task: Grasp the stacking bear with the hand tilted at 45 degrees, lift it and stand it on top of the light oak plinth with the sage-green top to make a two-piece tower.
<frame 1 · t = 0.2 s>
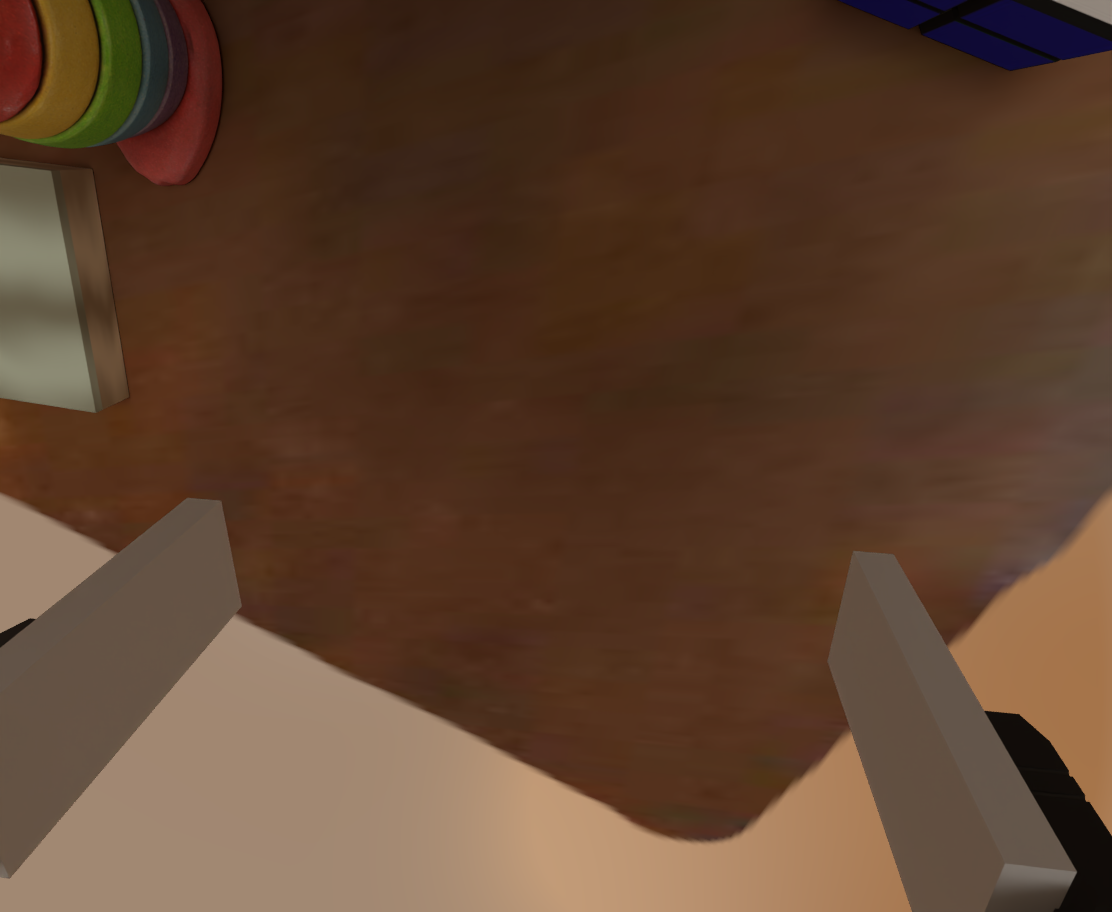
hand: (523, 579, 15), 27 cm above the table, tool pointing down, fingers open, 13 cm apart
plinth: (9, 276, 45), on the table
stacking bear: (144, 57, 39), on the table
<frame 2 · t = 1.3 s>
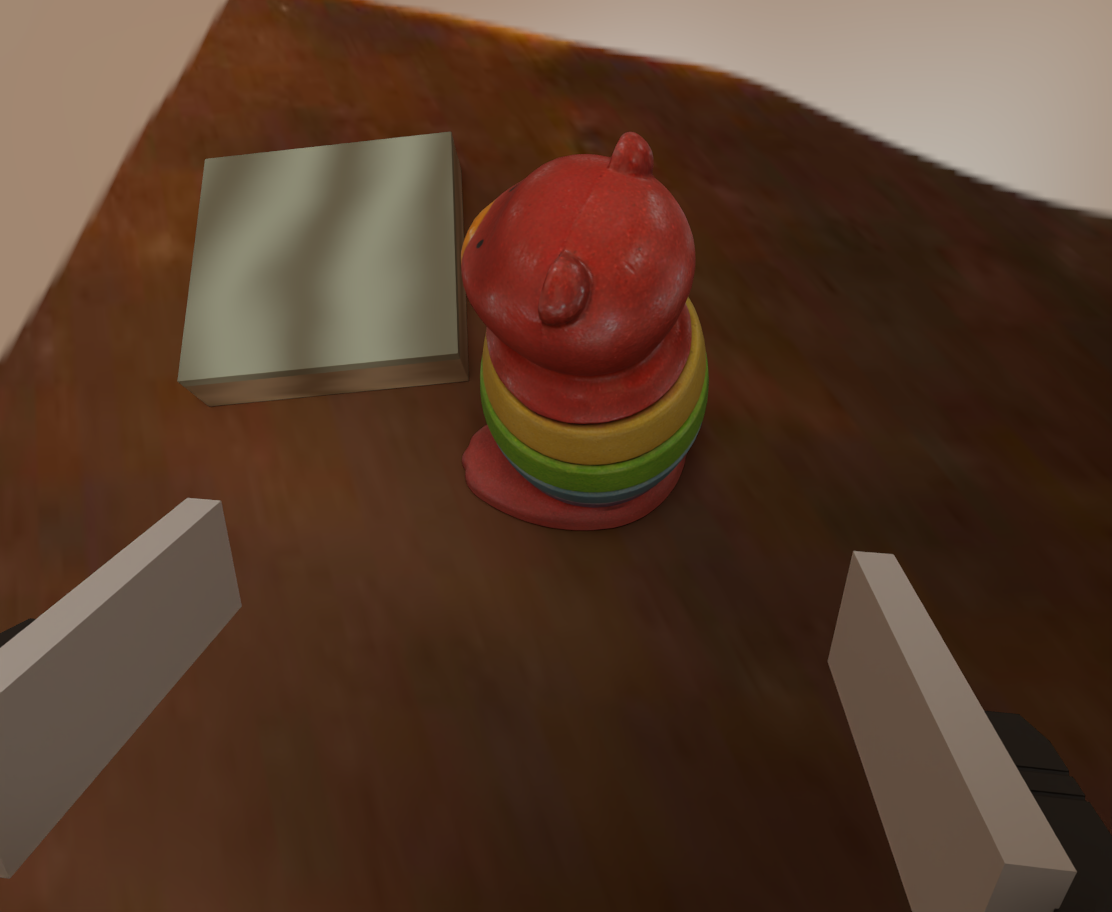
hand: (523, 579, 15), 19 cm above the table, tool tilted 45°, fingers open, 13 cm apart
plinth: (342, 282, 40), on the table
stacking bear: (589, 442, 36), on the table
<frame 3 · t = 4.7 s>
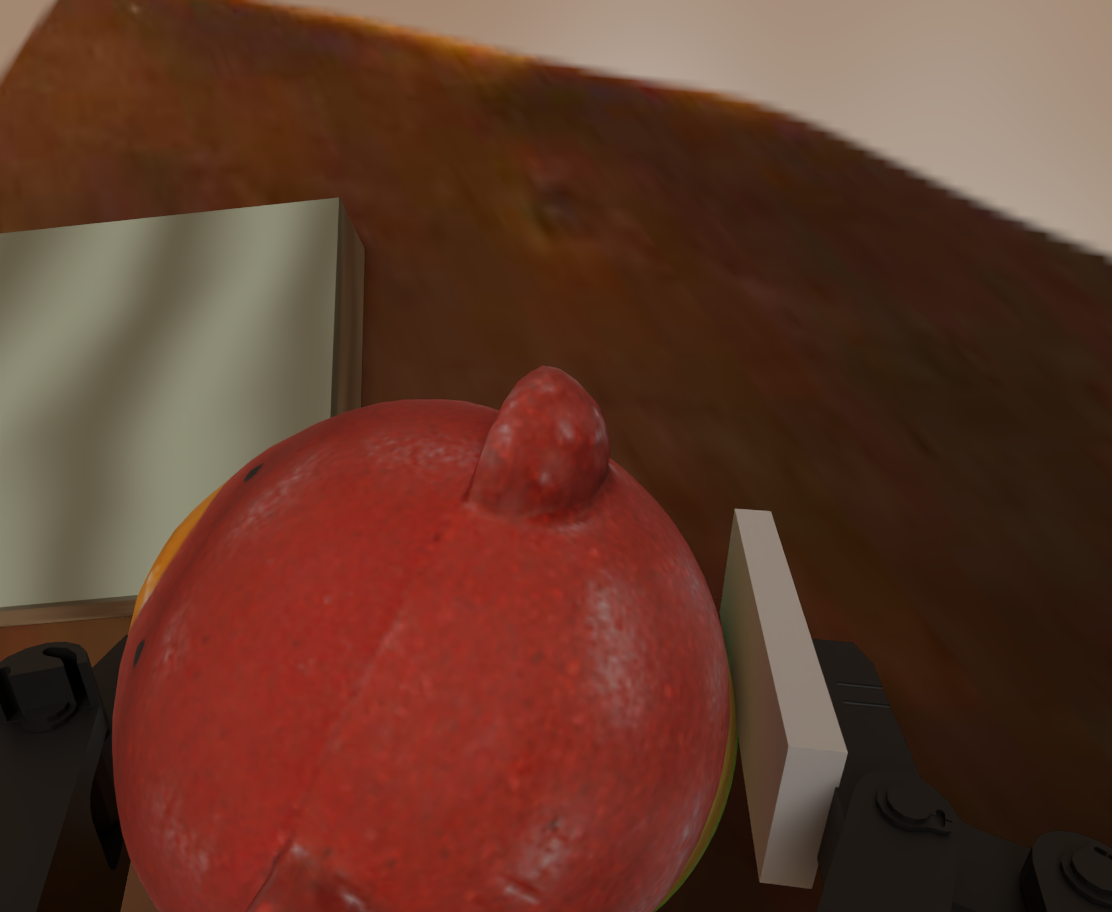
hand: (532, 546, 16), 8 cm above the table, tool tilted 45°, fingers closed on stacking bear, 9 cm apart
plinth: (175, 423, 27), on the table
stacking bear: (535, 705, 23), on the table, touching gripper
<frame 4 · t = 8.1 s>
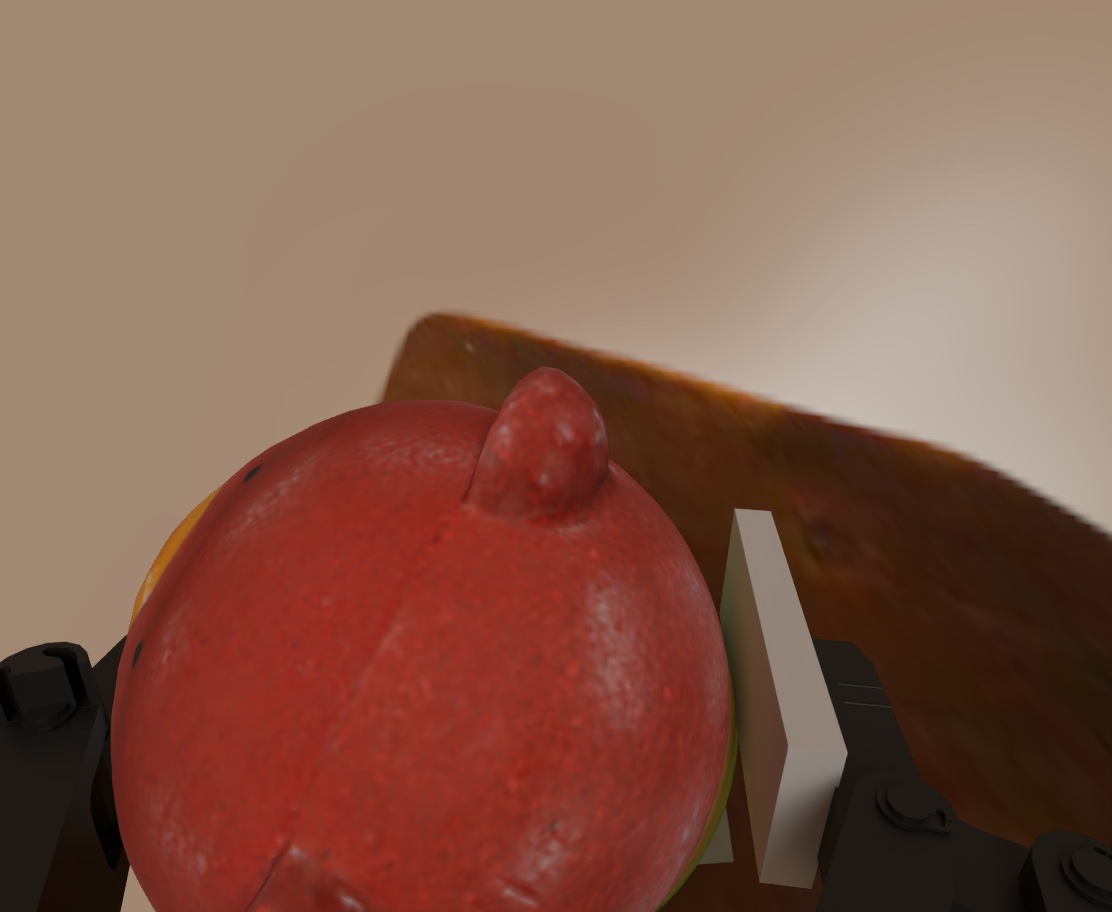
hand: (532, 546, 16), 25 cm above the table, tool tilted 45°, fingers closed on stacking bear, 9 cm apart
plinth: (570, 711, 38), on the table
stacking bear: (535, 706, 23), point 17 cm above the table, touching gripper
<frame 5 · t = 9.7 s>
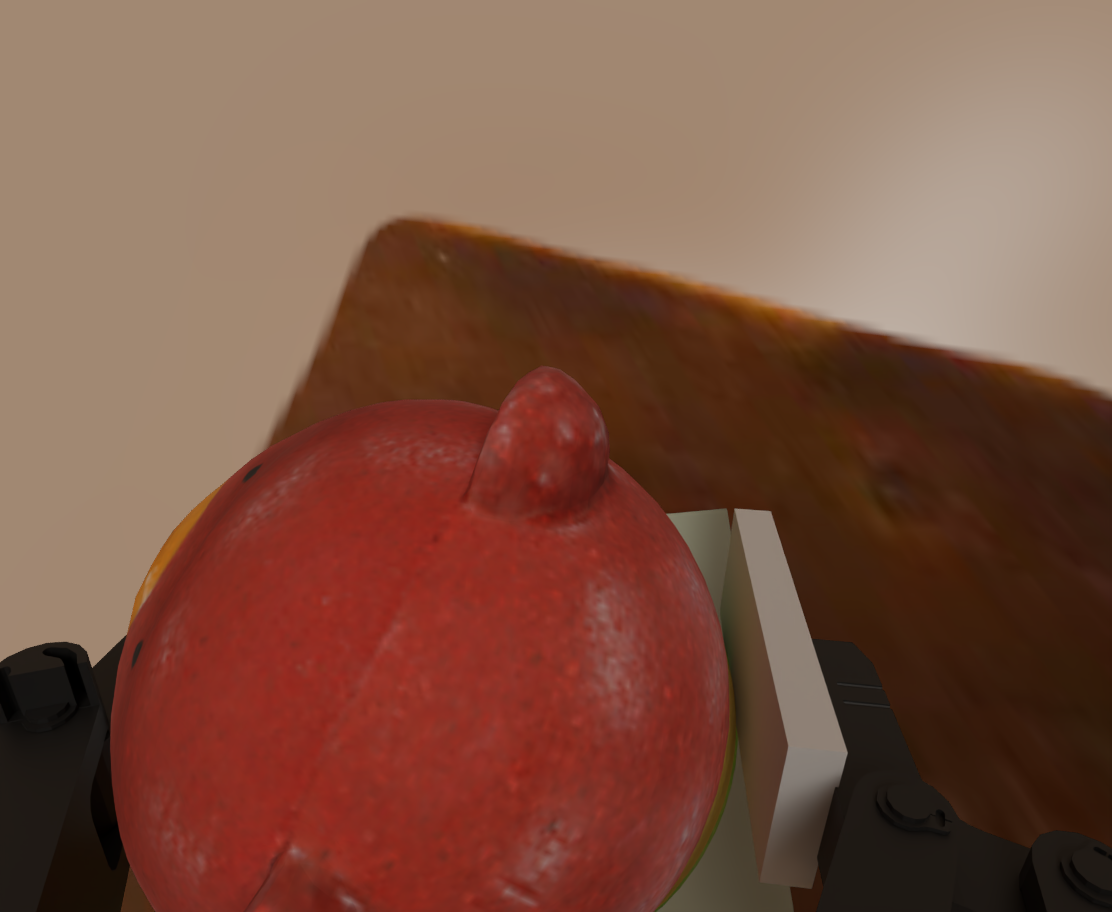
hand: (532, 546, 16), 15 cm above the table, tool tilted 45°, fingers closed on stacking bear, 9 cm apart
plinth: (568, 711, 29), on the table
stacking bear: (535, 706, 23), point 7 cm above the table, touching gripper
when the fingers open (12 cm above the table, at t = 11.2 s): stacking bear drops 1 cm, resting on plinth.
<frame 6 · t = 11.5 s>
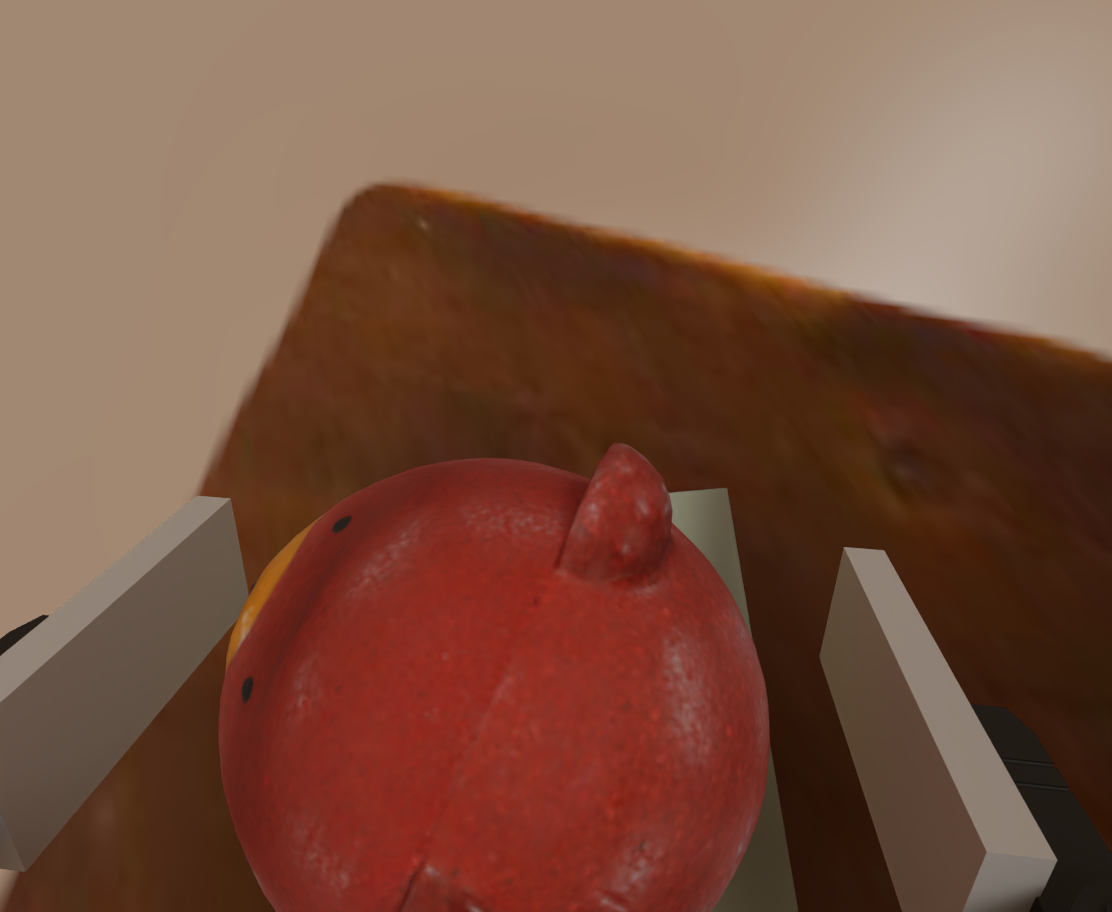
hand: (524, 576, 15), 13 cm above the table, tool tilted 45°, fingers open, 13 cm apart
plinth: (554, 709, 27), on the table
stacking bear: (544, 709, 24), point 3 cm above the table, touching plinth
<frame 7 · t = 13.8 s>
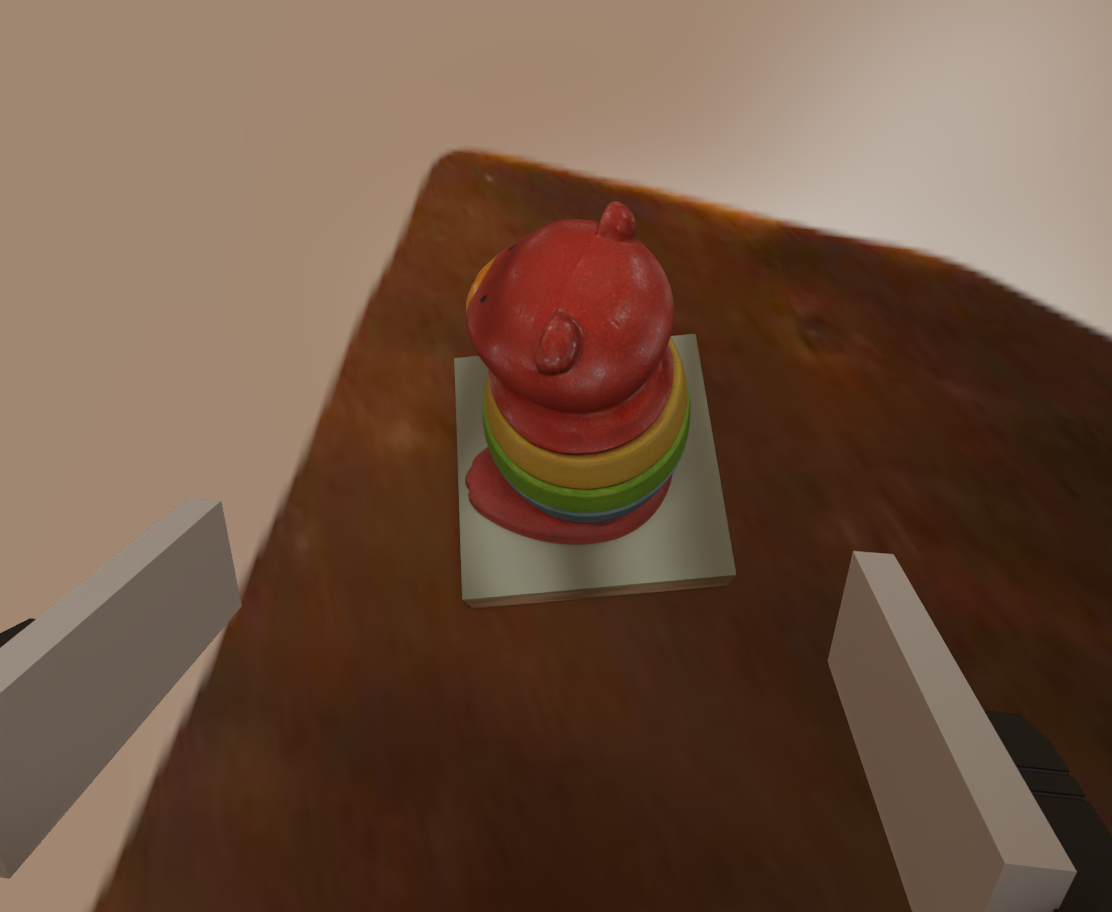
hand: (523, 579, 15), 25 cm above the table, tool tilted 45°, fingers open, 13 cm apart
plinth: (586, 476, 42), on the table
stacking bear: (583, 461, 39), point 3 cm above the table, touching plinth
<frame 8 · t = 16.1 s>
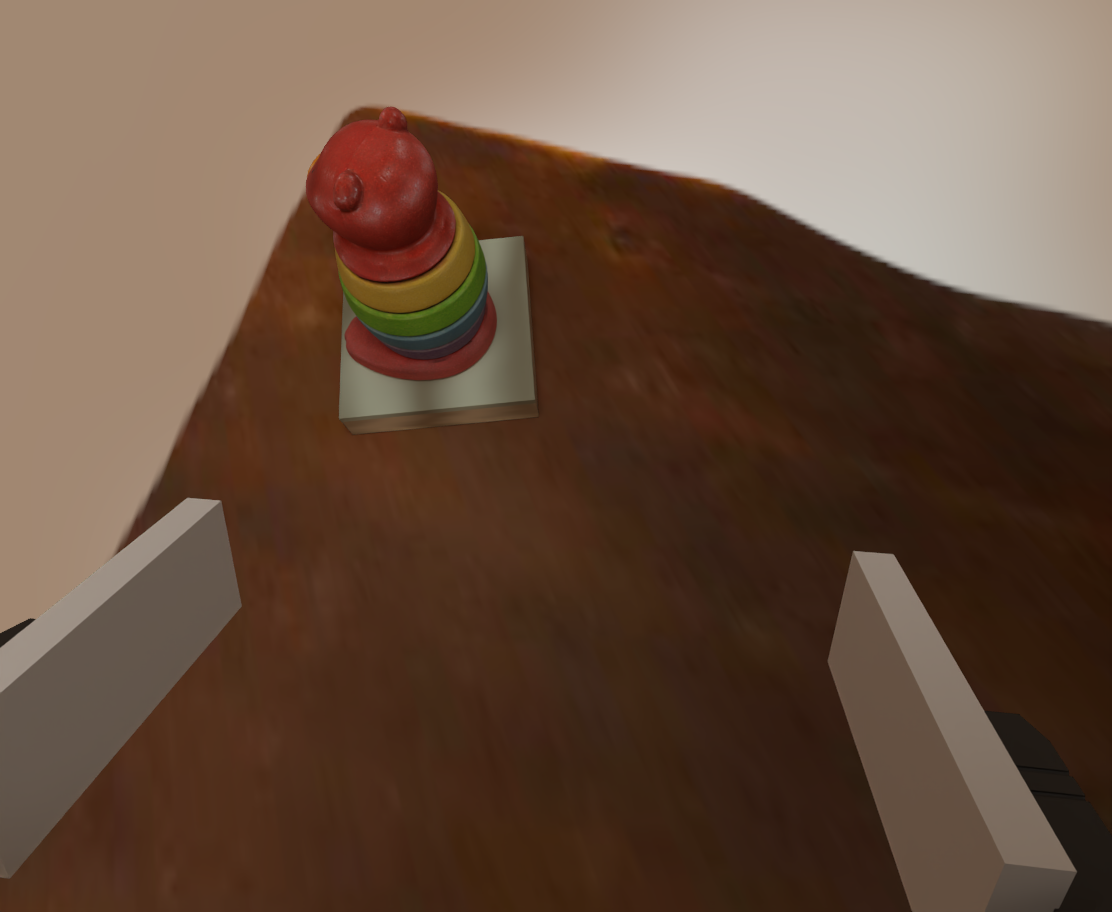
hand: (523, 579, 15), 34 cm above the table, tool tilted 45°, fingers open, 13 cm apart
plinth: (443, 343, 56), on the table
stacking bear: (433, 325, 53), point 3 cm above the table, touching plinth
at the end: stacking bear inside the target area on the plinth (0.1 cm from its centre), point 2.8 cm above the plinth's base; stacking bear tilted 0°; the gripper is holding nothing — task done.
